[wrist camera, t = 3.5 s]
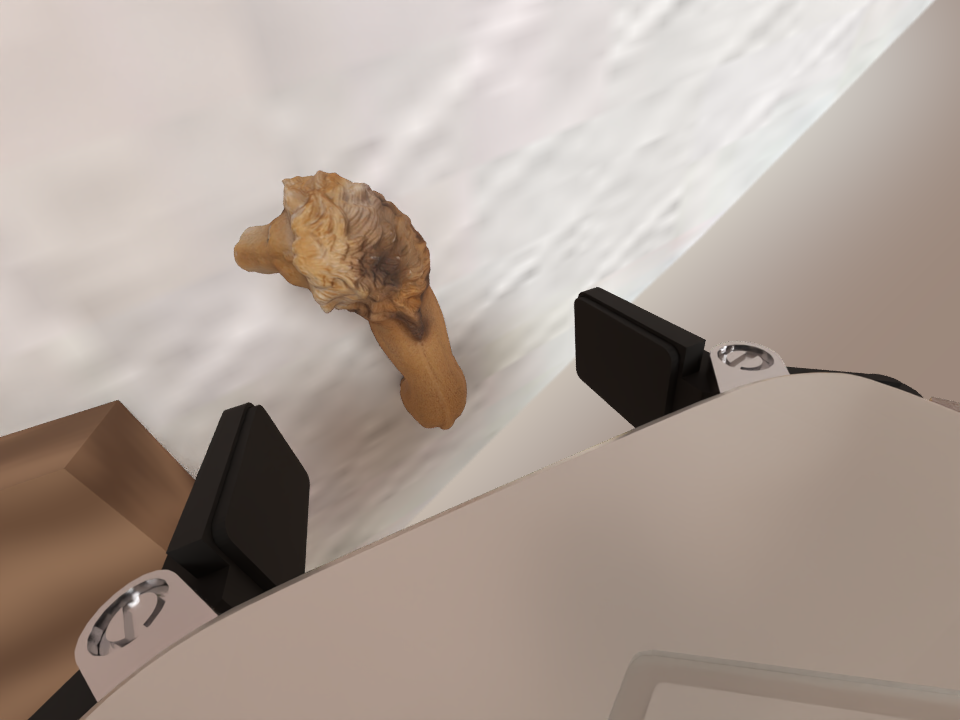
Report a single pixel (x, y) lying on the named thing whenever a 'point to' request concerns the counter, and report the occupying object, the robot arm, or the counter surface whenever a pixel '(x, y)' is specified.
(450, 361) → the lion figurine
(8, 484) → the walnut block
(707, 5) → the counter surface
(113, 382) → the counter surface
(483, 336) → the counter surface
